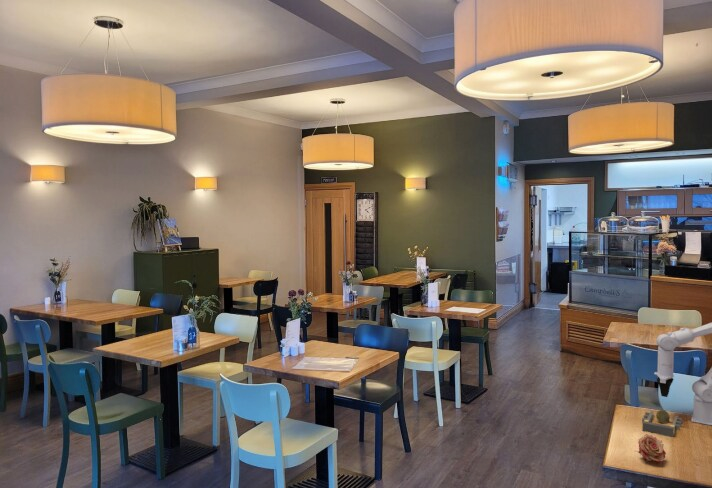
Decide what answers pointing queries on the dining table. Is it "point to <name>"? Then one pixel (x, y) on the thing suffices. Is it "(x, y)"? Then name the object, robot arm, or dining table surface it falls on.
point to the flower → (651, 448)
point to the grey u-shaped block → (660, 425)
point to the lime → (662, 416)
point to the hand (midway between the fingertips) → (664, 395)
